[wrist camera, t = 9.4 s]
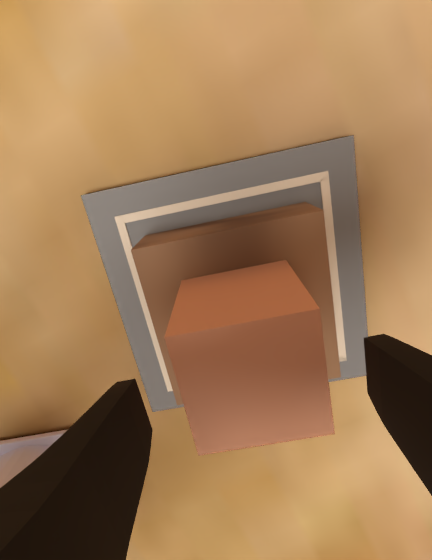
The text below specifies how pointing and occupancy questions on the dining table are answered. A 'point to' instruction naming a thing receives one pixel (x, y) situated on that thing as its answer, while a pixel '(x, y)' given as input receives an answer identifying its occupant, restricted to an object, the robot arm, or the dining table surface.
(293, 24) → the dining table surface
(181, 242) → the walnut base block
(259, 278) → the terracotta block
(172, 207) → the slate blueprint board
